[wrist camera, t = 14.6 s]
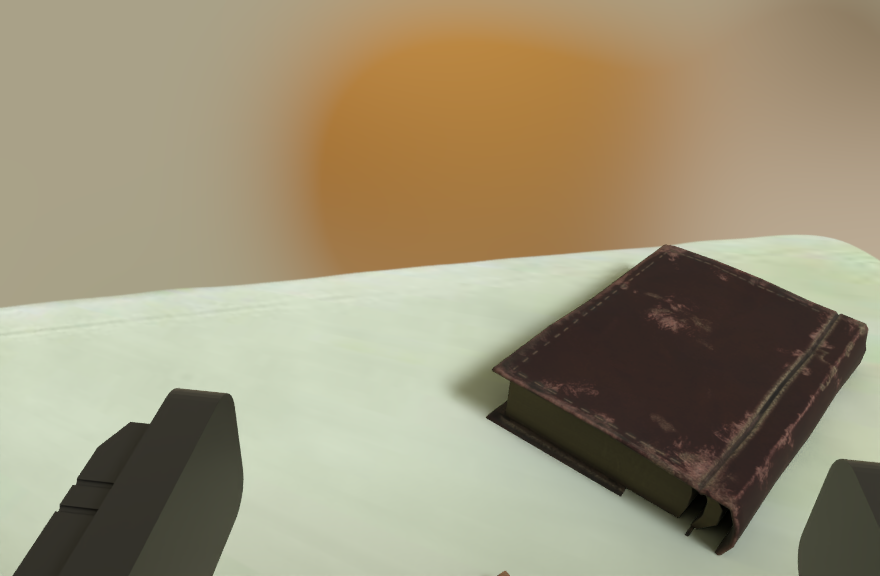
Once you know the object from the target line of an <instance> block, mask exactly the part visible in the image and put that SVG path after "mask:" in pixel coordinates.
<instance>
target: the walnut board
mask: <svg viewBox="0 0 880 576" xmlns="http://www.w3.org/2000/svg"><path fill="white" fill-rule="evenodd" d="M498 576H510V575H509V574H508V573H507V572H506V571H504V572H502V573H501V574H499V575H498Z"/></svg>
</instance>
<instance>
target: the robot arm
mask: <svg viewBox="0 0 880 576" xmlns="http://www.w3.org/2000/svg"><path fill="white" fill-rule="evenodd" d="M242 491H243V466H242V459H241V451H240V444H239V436H238V428H237V421H236V413H235V406H234V401H233V398H232V396H231V395H230V394H228V393H219V392H209V391H199V390H190V389H180V388H176V389H173V390H172V391H171V392H170V393H169V394H168V396H167V397H166V399H165V400H164V402H163V404H162V405H161V407H160V408H159V410H158V412H157V413H156V415H155V417H154V418H153V420H152V422H151V423H150V424H145V423H135V422H130V423H128V424H127V425H126V426H125V427H123V428H122V429H121V430H119V431H118V432H117V433H116V434H114V435H113V436H112V437H110V438H109V439H108V440H106V441H105V442H104V443H103V444H101V445H100V446H99V447H98V448H97V449H96V451H95V452H94V454H93V455H92V457H91V458H90V460H89V461H88V463H87V464H86V466H85V467H84V469H83V470H82V472H81V473H80V475H79V476H78V478H77V483H76V485H72V487H71V488H70V490H69V491H68V493H67V494H66V496H65V497H64V499H63V500H62V502H61V503H60V509H59V511H58V512H56V511H55V513H54V514H53V516H52V517H51V519H50V520H49V522H48V523H47V525H46V526H45V528H44V529H43V531H42V532H41V534H40V535H39V537H38V538H37V540H36V541H35V543H34V544H33V546H32V547H31V549H30V550H29V552H28V553H27V555H26V556H25V558H24V559H23V561H22V562H21V564H20V565H19V567H18V568H17V570H16V571H15V573H14V574H13V576H213V573H214V571H215V568H216V566H217V563H218V561H219V559H220V556H221V554H222V551H223V549H224V546H225V544H226V542H227V539H228V537H229V534H230V532H231V530H232V527H233V525H234V522H235V520H236V517H237V514H238V511H239V507H240V503H241V498H242ZM798 571H799V576H880V463H876V462H866V461H856V460H847V459H839V460H836V461H835V462H834V463H833V464H832V466H831V468H830V470H829V472H828V474H827V476H826V479H825V481H824V484H823V486H822V488H821V491H820V493H819V495H818V498H817V500H816V502H815V505H814V507H813V509H812V512H811V514H810V517H809V519H808V521H807V524H806V526H805V528H804V531H803V533H802V536H801V539H800V543H799V549H798Z"/></svg>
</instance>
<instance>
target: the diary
mask: <svg viewBox="0 0 880 576" xmlns="http://www.w3.org/2000/svg"><path fill="white" fill-rule="evenodd" d="M867 334H868V327H867V325H866V324H865V323H863V322H860V321H858V320H855V319H853V318H850V317H848V316H845V315H843V314H840V315H838V314H837V312H836V311H833V310H831V309H828V308H826V307H823V306H821V305H818V304H816V303H813V302H811V301H809V300H806V299H804V298H802V297H800V296H798V295H796V294H793V293H791V292H789V291H787V290H785V289H783V288H780V287H778V286H776V285H774V284H772V283H769V282H767V281H765V280H763V279H761V278H758V277H756V276H753V275H751V274H748V273H746V272H743V271H741V270H738V269H736V268H733V267H731V266H729V265H726V264H724V263H721V262H719V261H716V260H713V259H710V258H707V257H705V256H702V255H699V254H696V253H693V252H690V251H687V250H684V249H682V248H679V247H676V246H671V245H663V246H662V247H661V248H659V249H658V250H657V251H655V252H654V253H652V254H651V255H650V256H648V257H647V258H646V259H644V260H643V261H642V262H640V263H639V264H638V265H636V266H635V267H633V268H632V269H631V270H629V271H628V272H627V273H625V274H624V275H623V276H621V277H620V278H619V279H617V280H616V281H615V282H613V283H612V284H611V285H609V286H608V287H607V288H605V289H604V290H603V291H601V292H600V293H599V294H597V295H596V296H595V297H593V298H592V299H590V300H589V301H587V302H586V303H584V304H583V305H581V306H580V307H578V308H577V309H575V310H574V311H572V312H570V313H569V314H567V315H566V316H564V317H563V318H561V319H559V320H558V321H556V322H555V323H553V324H552V325H550V326H549V327H547V328H546V329H545V330H543V331H542V332H541V333H539V334H538V335H537V336H535V337H534V338H533V339H531V340H530V341H529V342H527V343H526V344H525V345H523V346H522V347H520V348H519V349H518V350H516V351H515V352H514V353H512V354H511V355H510V356H508V357H507V358H506V359H504V360H503V361H502V362H500V363H499V364H498V365H496V366H495V367H494V368H493V369H492V370H493V372H495V373H497V374H499V375H501V376H502V377H504V378H506V379H508V380H509V381H510V387H509V394H508V400H507V401H506V402H505V403H503V404H502V405H501V406H499V407H498V408H497V409H495V410H494V411H493V412H492V413H490V414H489V415H488V416H487V417H486V418H487V419H489V420H491V421H492V422H494V423H496V424H497V425H499V426H501V427H502V428H504V429H506V430H508V431H509V432H511V433H513V434H514V435H516V436H518V437H520V438H521V439H523V440H525V441H526V442H528V443H530V444H532V445H533V446H535V447H537V448H538V449H540V450H542V451H544V452H545V453H547V454H549V455H550V456H552V457H554V458H556V459H557V460H559V461H561V462H562V463H564V464H566V465H568V466H569V467H571V468H573V469H574V470H576V471H578V472H580V473H581V474H583V475H585V476H586V477H588V478H590V479H591V480H593V481H595V482H597V483H598V484H600V485H602V486H603V487H605V488H607V489H609V490H610V491H612V492H614V493H615V494H617V495H619V496H622V494H623V492H624V491H625V489H626V488H627V489H629V490H631V491H632V492H634V493H636V494H637V495H639V496H641V497H643V498H644V499H646V500H648V501H649V502H651V503H653V504H655V505H656V506H658V507H660V508H661V509H663V510H665V511H667V512H668V513H670V514H672V515H673V516H675V517H677V518H678V517H679V516H680V515H681V514H682V513H683V512H684V510H685V509H686V508H687V507H688V506H689V505H690V503H691V502H692V501H693V500H694V498H695V497H696V496H697V495H698V494H699V493H700V495H705V496H707V503H706V505H705V506H704V508H703V509H702V510H701V512H700V513H699V514H698V516H697V517H696V518H695V520H694V521H693V522H692V524H691V527H690V528H689V530H688V531H687V532H686V533H685V535H686V536H689V534H690V533H691V532H692V530H693V529H694V528H696V529H700V528H705V527H710V526H715V525H717V524H718V523H719V522H720V520H721V519H722V518H723V516H724V515H725V513H726V512H727V511H728V509H730V512H731V517H732V522H733V526H732V528H731V529H730V530H729V532H728V533H727V535H726V536H725V538H724V539H723V540H722V542H721V543H720V545H719V546H718V547H717V549H716V550H715V553H716V554H717V555H722V554H723V553H725V552H727V551H728V550H730V549H731V548H733V547H734V545H735V544H736V542H737V541H738V539H739V538H740V536H741V535H742V533H743V532H744V530H745V529H746V527H747V525H748V524H749V522H750V521H751V519H752V518H753V516H754V515H755V513H756V512H757V510H758V509H759V507H760V505H761V504H762V502H763V501H764V499H765V498H766V496H767V495H768V493H769V492H770V490H771V489H772V487H773V486H774V484H775V482H776V481H777V480H778V478H779V477H780V476H781V474H782V473H783V472H784V470H785V469H786V468H787V466H788V465H789V463H790V462H791V461H792V459H793V458H794V457H795V455H796V454H797V453H798V451H799V450H800V449H801V447H802V446H803V444H804V443H805V442H806V440H807V439H808V438H809V436H810V435H811V433H812V432H813V430H814V429H815V427H816V425H817V424H818V422H819V421H820V419H821V418H822V416H823V414H824V413H825V411H826V410H827V408H828V406H829V405H830V403H831V402H832V400H833V399H834V397H835V395H836V394H837V393H838V391H839V390H840V389H841V387H842V386H843V385H844V383H845V382H846V381H847V380H848V378H849V377H850V376H851V374H852V373H853V372H854V370H855V369H856V368H857V366H858V365H859V364H860V363H861V360H862V358H863V356H864V354H865V351H866V339H867Z"/></svg>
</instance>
